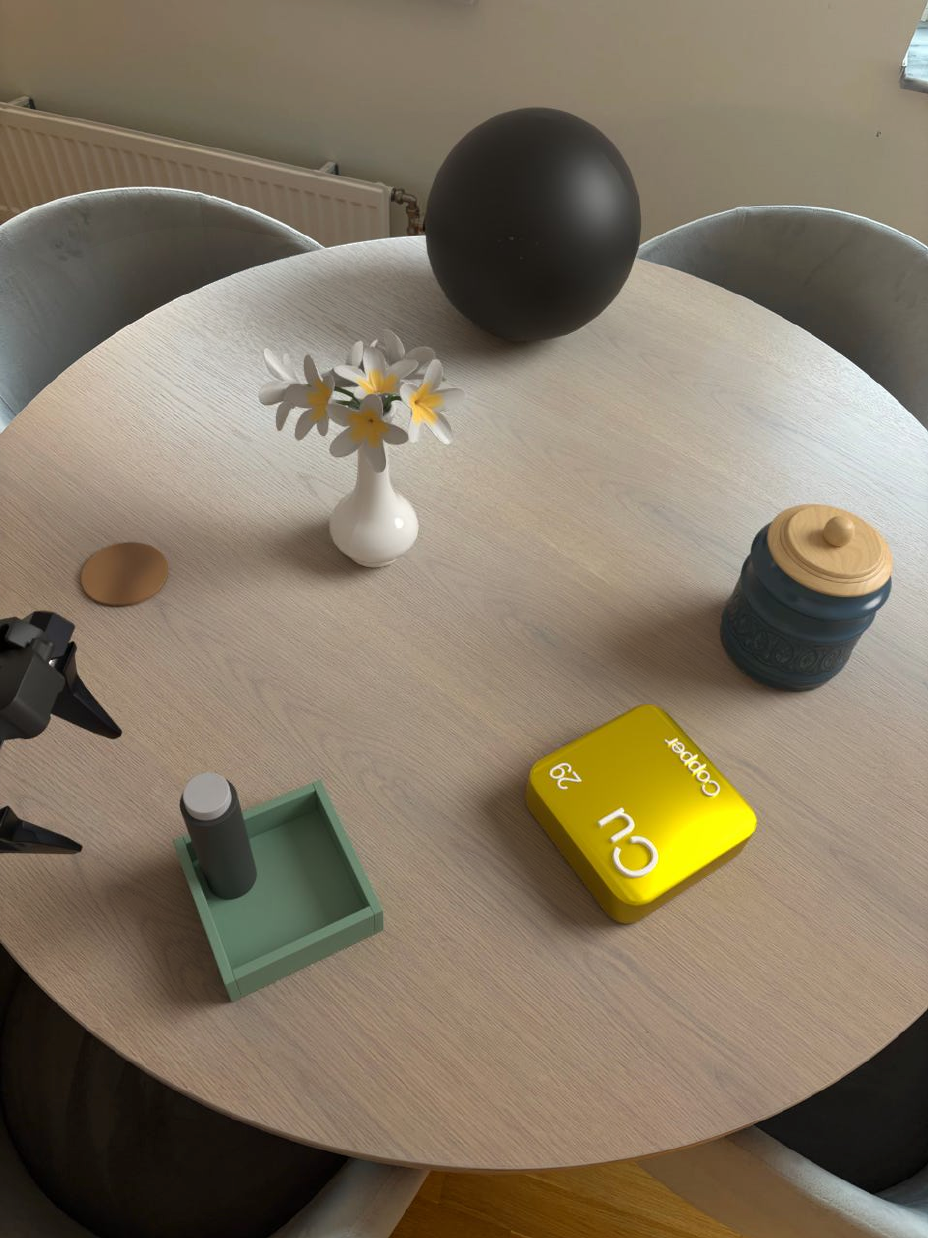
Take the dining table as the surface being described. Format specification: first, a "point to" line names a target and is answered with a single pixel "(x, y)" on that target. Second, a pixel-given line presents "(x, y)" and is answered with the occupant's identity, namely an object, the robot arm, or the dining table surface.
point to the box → (286, 893)
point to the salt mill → (219, 835)
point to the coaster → (124, 574)
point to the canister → (806, 596)
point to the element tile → (638, 811)
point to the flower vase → (368, 434)
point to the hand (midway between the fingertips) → (99, 790)
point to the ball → (533, 224)
